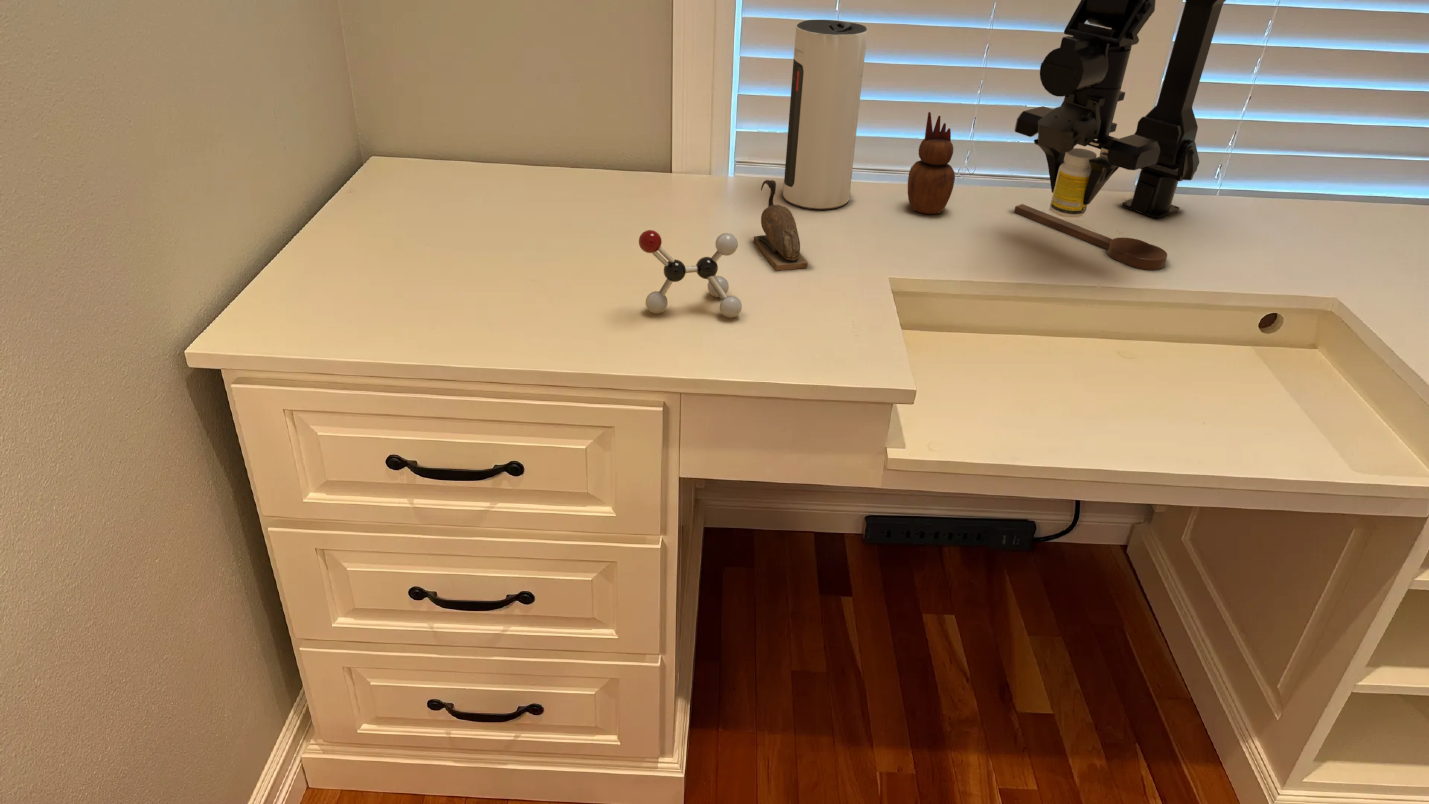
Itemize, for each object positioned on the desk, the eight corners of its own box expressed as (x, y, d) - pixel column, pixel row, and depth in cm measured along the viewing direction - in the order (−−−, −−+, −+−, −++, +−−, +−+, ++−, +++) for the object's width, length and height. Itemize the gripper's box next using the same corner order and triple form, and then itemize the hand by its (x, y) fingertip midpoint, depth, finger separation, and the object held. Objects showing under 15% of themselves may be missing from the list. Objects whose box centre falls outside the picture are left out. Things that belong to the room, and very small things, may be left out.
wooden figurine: (900, 212, 150) (914, 114, 142) (908, 200, 154) (923, 104, 146) (944, 220, 148) (962, 121, 140) (951, 207, 152) (969, 110, 144)
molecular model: (744, 320, 119) (749, 238, 113) (646, 330, 116) (646, 246, 110) (724, 290, 125) (728, 211, 120) (632, 299, 123) (631, 218, 117)
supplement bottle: (1086, 220, 134) (1101, 160, 129) (1050, 216, 135) (1064, 156, 130) (1082, 207, 138) (1097, 148, 133) (1047, 203, 139) (1061, 145, 134)
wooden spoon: (1005, 215, 151) (1007, 205, 150) (1029, 207, 154) (1031, 198, 153) (1149, 273, 135) (1152, 263, 134) (1172, 263, 138) (1176, 253, 137)
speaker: (785, 183, 159) (799, 12, 144) (850, 188, 158) (870, 17, 143) (780, 207, 150) (793, 28, 136) (848, 213, 149) (869, 33, 135)
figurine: (743, 229, 142) (747, 171, 137) (772, 227, 143) (777, 169, 138) (776, 271, 131) (781, 209, 126) (808, 268, 132) (814, 206, 127)
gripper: (1000, 74, 129) (978, 188, 137) (1126, 111, 116) (1094, 234, 125) (1052, 63, 134) (1028, 173, 143) (1177, 97, 122) (1143, 215, 131)
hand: (1070, 198), depth 135 cm, fingers closed on supplement bottle, 5 cm apart
